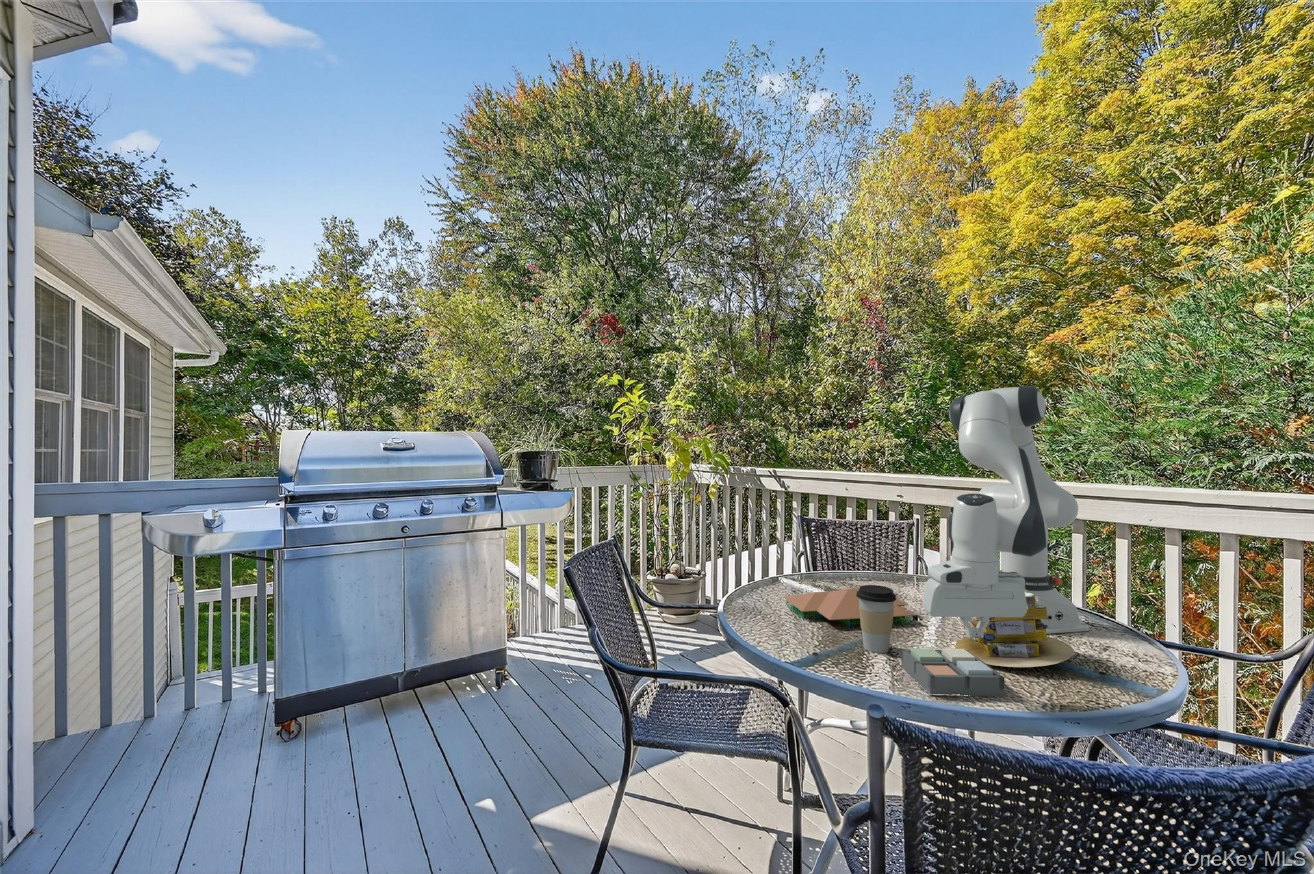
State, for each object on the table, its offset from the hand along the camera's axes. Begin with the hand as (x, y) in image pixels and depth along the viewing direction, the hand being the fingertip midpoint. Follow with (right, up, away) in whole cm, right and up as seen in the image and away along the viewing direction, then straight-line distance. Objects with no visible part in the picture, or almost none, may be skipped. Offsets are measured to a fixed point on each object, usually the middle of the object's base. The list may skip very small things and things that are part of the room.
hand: (974, 636), depth 123 cm
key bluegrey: (0, -8, 0) cm, 8 cm away
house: (-10, -11, +50) cm, 52 cm away
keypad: (-3, -11, +4) cm, 12 cm away
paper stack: (+19, -11, +18) cm, 28 cm away
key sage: (-7, -8, +7) cm, 13 cm away
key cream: (0, -8, +7) cm, 11 cm away
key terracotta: (-7, -9, 0) cm, 11 cm away
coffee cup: (-13, -11, +22) cm, 28 cm away
